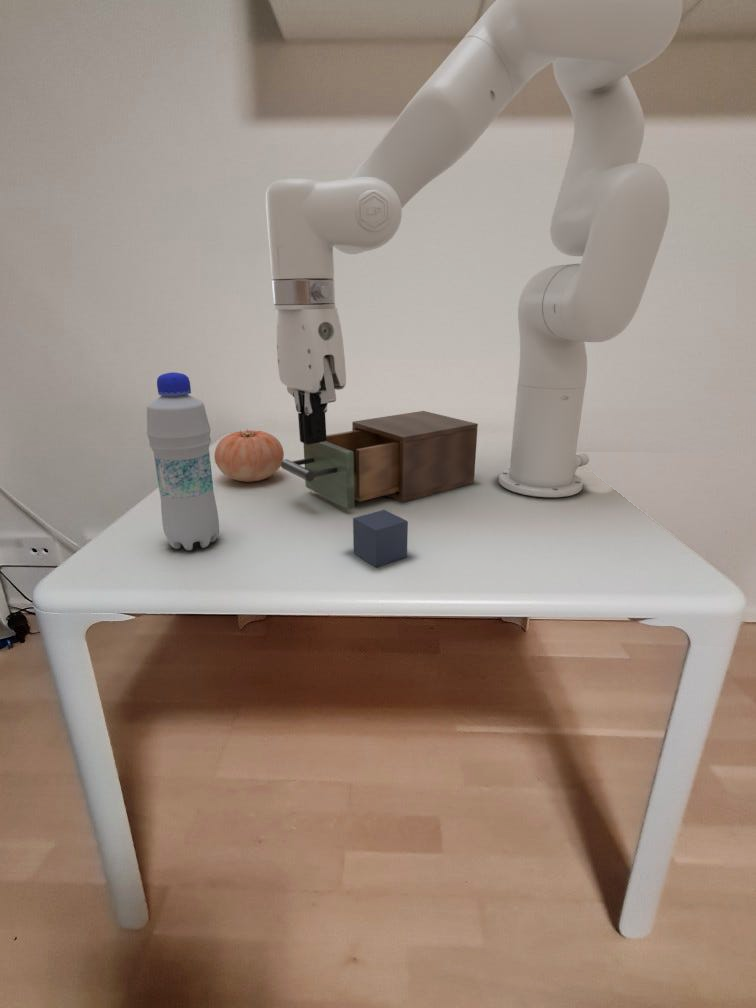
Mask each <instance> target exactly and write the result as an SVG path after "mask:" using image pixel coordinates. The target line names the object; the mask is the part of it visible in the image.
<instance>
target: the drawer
mask: <svg viewBox="0 0 756 1008" xmlns="http://www.w3.org/2000/svg"><path fill="white" fill-rule="evenodd" d="M302 465H304V466H302ZM280 468H281V469H283V470H285V471H287V472H289V473H291V474H293V475H295V476H296V477H299V478H301V479H303V480H304V481H305V487H306V488H307V489H308V490H311V491H313V492H314V493H316V494H318V495H320V496H322V497H324V498H326V499H328V500H330V502H331V501H332V502H333V503H335V504H337V505H339V506H341V507H343V508H345V509H347V510H348V509H352V508H355V501H358V502H364V501H367V500H371V499H375V498H379V497H384V496H387V494H391V493H395V492H399V468H400V441H396V440H393V439H390V438H387V437H384V436H381V435H378V434H374V433H371V432H368V431H365V430H362V429H361V430H355V431H352V430H350V431H344V432H337V433H331V434H326V441H324V442H320V443H314V444H309V445H307V444H305V443H303V458H302V459H297V460H292V461H291V460H290V459H286V458H285V459H284V458H283V461H282V462H281V466H280Z"/></svg>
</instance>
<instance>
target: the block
mask: <svg viewBox="0 0 756 1008" xmlns="http://www.w3.org/2000/svg"><path fill="white" fill-rule="evenodd" d="M408 526H409V521H408V520H406V519H404V518H402V517H400V516H398V515H396V514H394V513H392V512H391V511H388V510H386V509H381V510H377V511H373V512H369V513H366V514H363V515H359V516H355V517H353V518H352V533H353V536H352V537H353V539H352V540H353V541H352V542H353V545H352V546H353V554H354V555H356V556H357V557H358V558H360V559H362V560H363V561H365V562H366V563H368V564H370V565H372V566H373V567H375V568H378V567H381V566H384V565H387V564H390V563H393V562H396V561H399V560H402V559H404V558H407V557H408V535H409V534H408V532H409V531H408V530H409V528H408Z"/></svg>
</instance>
